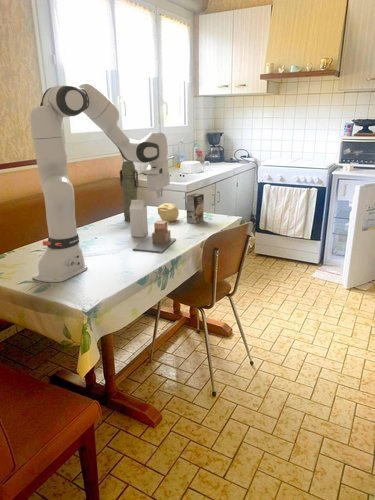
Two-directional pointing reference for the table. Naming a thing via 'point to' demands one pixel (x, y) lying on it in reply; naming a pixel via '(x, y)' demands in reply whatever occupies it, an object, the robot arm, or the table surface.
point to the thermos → (128, 186)
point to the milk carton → (138, 218)
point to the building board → (155, 243)
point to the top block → (160, 226)
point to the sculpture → (168, 212)
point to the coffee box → (195, 208)
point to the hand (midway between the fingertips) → (159, 197)
